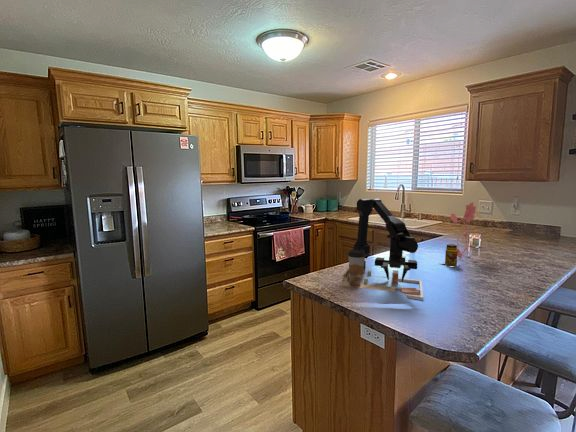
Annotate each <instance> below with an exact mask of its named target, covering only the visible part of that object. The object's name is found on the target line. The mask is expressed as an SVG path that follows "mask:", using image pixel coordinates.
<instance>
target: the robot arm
mask: <svg viewBox="0 0 576 432" xmlns="http://www.w3.org/2000/svg"><path fill="white" fill-rule="evenodd" d="M373 209H374V210H375V212H376V213H377V214H378V216H379V217H380V218H381V220H382V221H383V222H384V223H385V228H386V229H387V231H388V233H389V234H387V236H386V238H387V239H389V256H388V259H385V257H378V256H377V257H376V258H375V259H374V266H376V267H380V268H383V270H384V272H385V277H387V278H386V279H387V281H389V280H390V274H389V273H390V272H389V270H390V269H389V268H391V269H393V268H395V269H401V266H403V269H402V274H401V275H402V276H401V278H402V281H401V282H402V283H403V279H405V278H406V277H405V276H406V274H407V273H408V271H411V270H418V261H417V260H416V259H408V261H406V257H404V256H403V253H404V252H407V253H411V254H415V253H416V252H417V251H418V248H419V244H418V242H417V240H416V237H412V236H411V234H410V232H409V230H408V229H407V226H406V224H405V222H403V220H401V219H400V218H398V217H395V216H394V215H393V213H392V212H391V211H390V210H389V209H388V208H387V206H385V204H384V203H383V201H382V199H380V198H359V199H357V201H356V212H357V213H358V227H357V239H356V241H355V243H354V245H353V248H352V250H353V249H358V250H363V251H364V253H365V261H364V270H366V268H367V267H366V266H367V264H366V259H368V257H369V255H370V253H371V245H369V243H368V231H369V230H368V229H369V228H368V227H369V217H370V215H371V214H372V212H373Z"/></svg>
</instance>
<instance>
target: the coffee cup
mask: <svg viewBox="0 0 576 432" xmlns="http://www.w3.org/2000/svg"><path fill="white" fill-rule="evenodd" d="M347 256H348V269H349V273H350V274H360V281H362V280H364V275H365V269H364V261H366V258H365V253H364V251H363V250H358V249H353V248H352V249H349V251H348V255H347ZM350 274H349V275H350Z"/></svg>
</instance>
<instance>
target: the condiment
mask: <svg viewBox="0 0 576 432" xmlns="http://www.w3.org/2000/svg"><path fill="white" fill-rule="evenodd" d="M457 249H458V244H453V243H451V244H449V243H448V244H446V248H445V259H444V260H445V261H444V263H445V265H447V266H446V267H448V266H457V265H458V256H457V253H458V251H457ZM445 265H444V266H445ZM457 267H458V266H457Z"/></svg>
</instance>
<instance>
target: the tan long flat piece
mask: <svg viewBox="0 0 576 432" xmlns="http://www.w3.org/2000/svg"><path fill="white" fill-rule="evenodd" d="M340 286H342V287H351V288H358V289H359V288H361V289H369V290H376V291H384V292H386V291H387V292H392V293H396V291H397V292H398V290H399V289H398V288H397V287H396V286H391V285H382V284H373V283H368V284H366V283H364V282H360V287H359V286H350V283H349V281H347V280H343V281H342V282H341V284H340Z"/></svg>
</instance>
